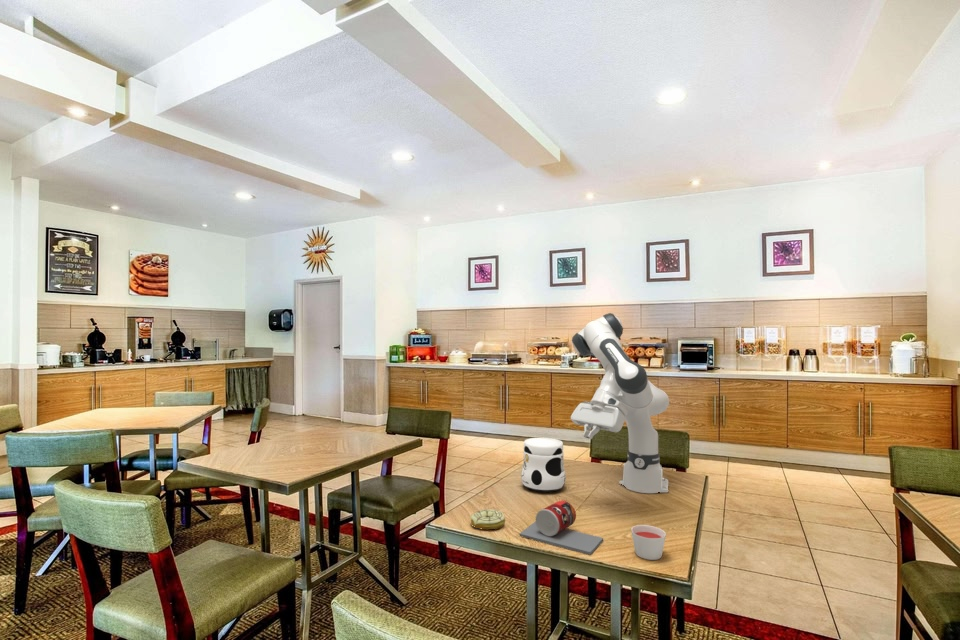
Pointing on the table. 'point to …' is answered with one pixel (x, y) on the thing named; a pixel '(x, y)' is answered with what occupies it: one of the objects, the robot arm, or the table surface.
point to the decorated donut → (488, 519)
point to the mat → (565, 539)
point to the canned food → (555, 518)
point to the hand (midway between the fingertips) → (587, 437)
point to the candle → (648, 541)
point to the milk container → (543, 464)
